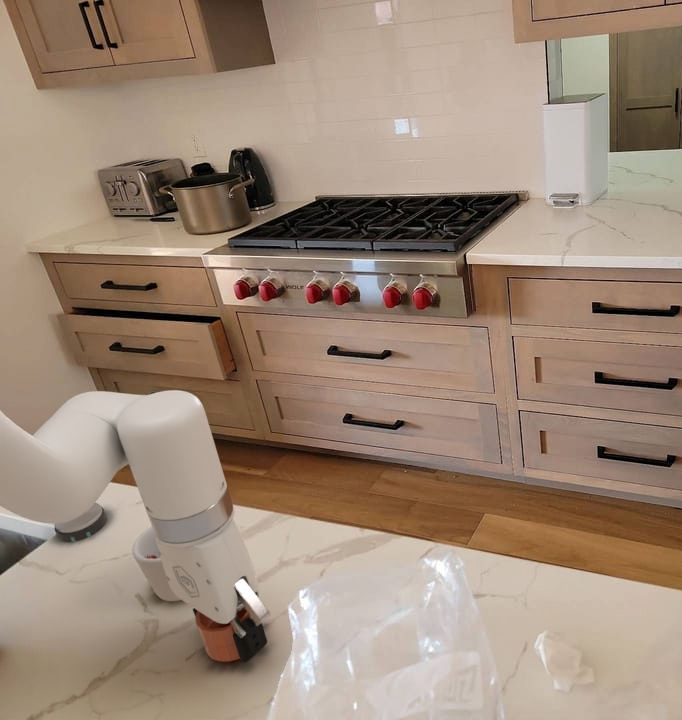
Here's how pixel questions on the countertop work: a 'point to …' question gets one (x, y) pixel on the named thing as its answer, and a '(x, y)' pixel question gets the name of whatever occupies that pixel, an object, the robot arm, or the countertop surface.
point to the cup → (152, 565)
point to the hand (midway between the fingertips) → (234, 638)
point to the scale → (82, 525)
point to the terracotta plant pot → (219, 636)
